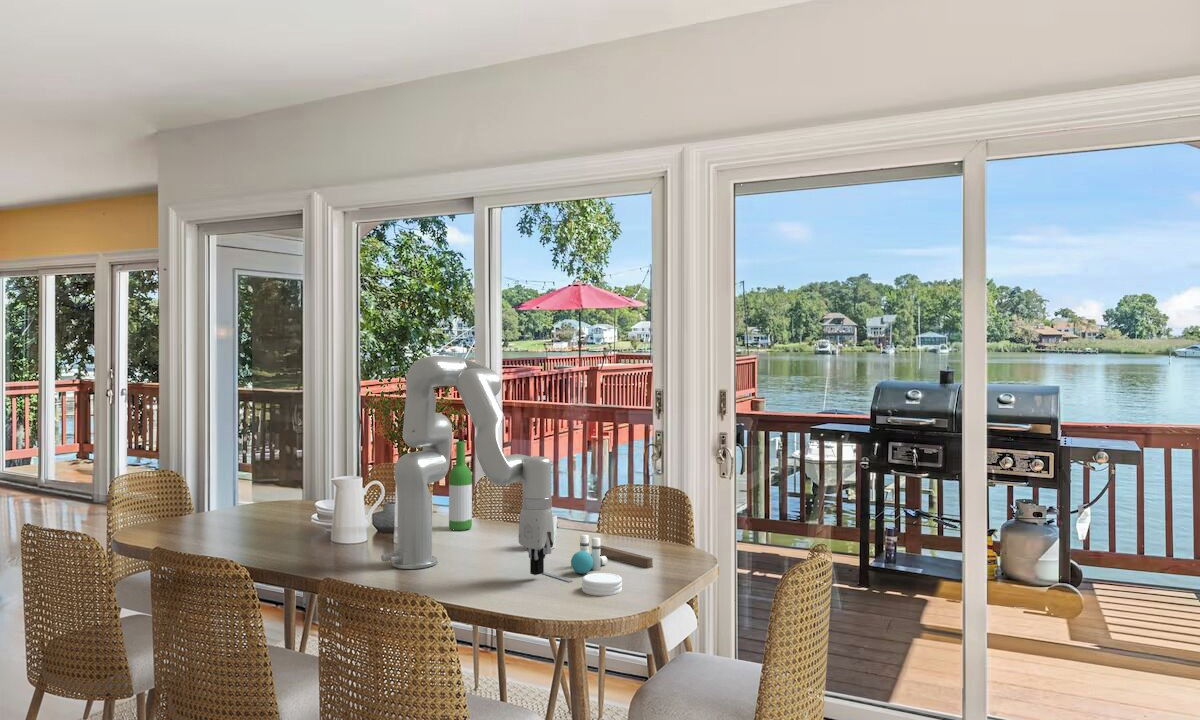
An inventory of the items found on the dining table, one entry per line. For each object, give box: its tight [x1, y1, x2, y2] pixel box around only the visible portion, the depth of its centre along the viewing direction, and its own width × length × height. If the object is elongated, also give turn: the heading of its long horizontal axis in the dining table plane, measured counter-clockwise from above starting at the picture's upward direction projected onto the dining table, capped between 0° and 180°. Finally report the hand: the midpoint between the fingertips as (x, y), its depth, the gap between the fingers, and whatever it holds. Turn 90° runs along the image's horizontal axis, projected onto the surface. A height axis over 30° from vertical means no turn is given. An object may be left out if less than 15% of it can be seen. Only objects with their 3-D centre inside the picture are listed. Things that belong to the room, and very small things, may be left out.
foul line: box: [542, 571, 574, 583], centre depth 216 cm, size 1×16×1 cm, turn 41°
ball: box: [570, 550, 593, 575], centre depth 219 cm, size 6×6×6 cm
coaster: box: [581, 572, 623, 597], centre depth 203 cm, size 10×10×4 cm
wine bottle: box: [448, 441, 473, 531], centre depth 279 cm, size 8×8×30 cm
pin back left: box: [579, 534, 590, 554], centre depth 227 cm, size 2×2×8 cm
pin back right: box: [591, 537, 601, 571], centre depth 223 cm, size 2×2×8 cm
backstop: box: [600, 544, 654, 569], centre depth 234 cm, size 2×22×2 cm, turn 42°
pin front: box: [600, 556, 608, 567], centre depth 226 cm, size 2×2×8 cm
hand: (537, 573), depth 213 cm, fingers closed
